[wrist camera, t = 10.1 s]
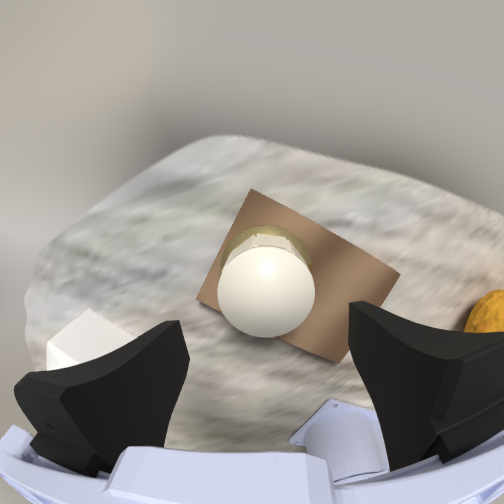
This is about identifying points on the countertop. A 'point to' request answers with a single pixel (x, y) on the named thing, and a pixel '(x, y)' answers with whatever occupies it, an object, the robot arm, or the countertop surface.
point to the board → (314, 276)
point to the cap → (266, 287)
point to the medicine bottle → (85, 340)
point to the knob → (266, 231)
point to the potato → (487, 314)
